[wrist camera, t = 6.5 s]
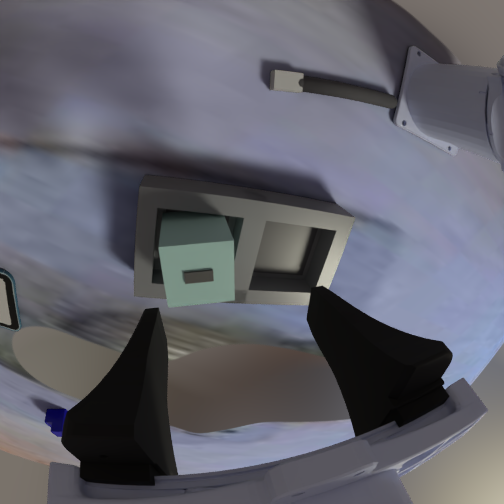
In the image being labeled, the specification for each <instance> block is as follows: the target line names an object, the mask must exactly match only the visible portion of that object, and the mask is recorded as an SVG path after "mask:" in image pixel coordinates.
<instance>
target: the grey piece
mask: <svg viewBox="0 0 504 504" xmlns="http://www.w3.org/2000/svg"><path fill="white" fill-rule="evenodd" d="M180 211H191V212H199V213H208V214H217V215H224V216H225V219H226V221H227V224H228V226H229V229H230V232H231V234H232V237H233V239H234V283H235V300H234V301H226V302H222V303H244V304H274V305H309V300H310V293H311V287H317V286H324V287H326V288H327V289H329V286H330V284H331V281H332V279H333V276H334V274H335V271H336V269H337V266H338V264H339V261H340V258H341V256H342V253H343V251H344V248H345V245H346V242H347V240H348V237H349V234H350V231H351V229H352V226H353V223H354V220H355V217H354V216H353V215H351V214H350V213H349V212H347V211H346V210H345V209H343V208H342V207H340V206H339V205H338V204H335V203H330V202H326V201H320V200H315V199H310V198H305V197H299V196H294V195H288V194H283V193H277V192H271V191H265V190H259V189H253V188H246V187H240V186H233V185H226V184H219V183H212V182H204V181H197V180H189V179H180V178H172V177H163V176H153V175H145V176H144V178H143V180H142V182H141V184H140V186H139V196H138V207H137V220H136V236H135V260H134V296H136V297H147V298H160V299H167V297H166V292H165V286H164V280H163V274H162V268H161V261H160V255H159V248H158V247H159V238H160V230H161V222H162V215H163V213H169V212H180Z"/></svg>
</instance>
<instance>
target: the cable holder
mask: <svg viewBox="0 0 504 504" xmlns="http://www.w3.org/2000/svg"><path fill="white" fill-rule="evenodd" d="M67 412H68V411H67V410H66V409H47V412H46V417H45V423H46V424H47V425H48V426H50V427H51V432H52V433H53V434H55V435H56V436H57V437H62V431H63V424H64V420H65V416H66V413H67Z"/></svg>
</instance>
